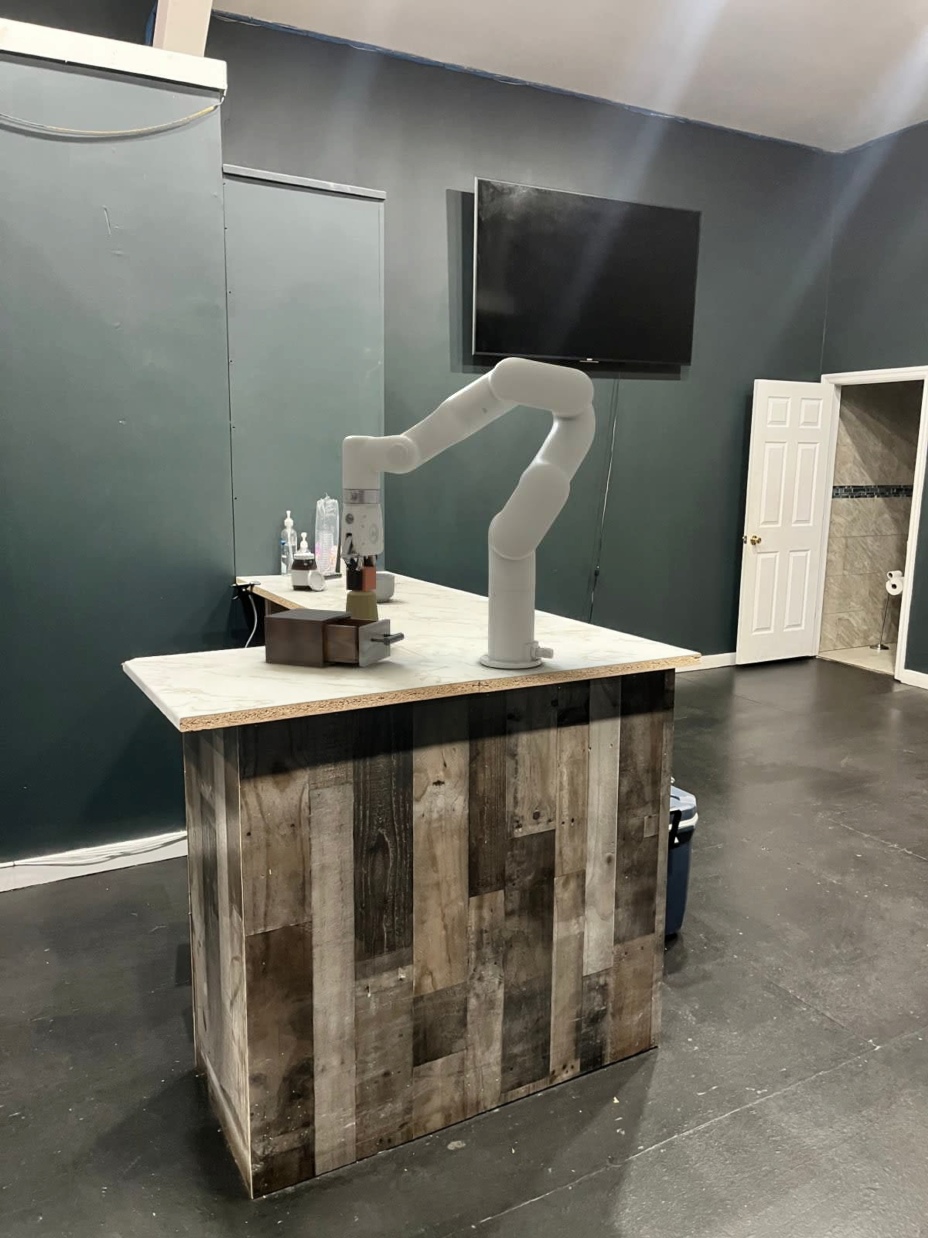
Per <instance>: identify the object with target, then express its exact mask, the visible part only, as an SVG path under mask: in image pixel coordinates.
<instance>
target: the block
mask: <svg viewBox="0 0 928 1238" xmlns="http://www.w3.org/2000/svg"><path fill="white" fill-rule="evenodd" d="M360 571H363V589H362V590H361V591H369V590H374V589H376V573H377V566H376V567H365V566H361V570H360ZM345 585H346V586H345V590H346V591H349V590H348V589H347V570H346V569H345ZM354 591H356V590H354Z"/></svg>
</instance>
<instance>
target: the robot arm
mask: <svg viewBox="0 0 928 1238" xmlns="http://www.w3.org/2000/svg"><path fill="white" fill-rule="evenodd" d="M594 394H595V389H594V384H593V381H592V380H591V378H590V377H589V375H587V374H586V373H585V372H583V371H581V370H580V369H577V368H573V367H567V366H563V365H562V366H561V365H556V364H551V363H546V362H541V361H537V360H536V361H535V360H531V359H526V358H522V357H507V358H504V359H502V360H501V361H499V362H498V363H496V365H495V366H494V368H493V369H491V370H490V371H488V372H487V373H485V374H484V375H482V376H480V377H479V378H477V379H476V380H473V382H471V383H469V384H468V385H466V386H465V387H464V388H461V389H460V390H458V391H456V392H455V393H453V394H452V395H450V396H449V397H448V398H446V399H445V400H444V401H443V402H442V403H440V404H439V406H438V407H437V408H436V409H435V410H434V411H433V412H432V413H431V414H429V415H428V416H427V417H425V418H424V419H423V420H421V421H420V422H418V423H417V424H415V425H414V426H411V428H409V429H407V430H406V431H404V432H402V433H401V434H395V435H386V436H371V435H349V436H346V437H345V438H344V439H343V441H342V449H341V450H342V506H343V509H342V515H341V516H342V517H341V529H340V530H341V531H340V547H341V548H340V549H341V553H340V557H341V559H342V560H343V561H344V564H345V571H346V570H347V589H348V590H347V591H352V590H356V591H361V590H362V589H363V571H360V570H361V562H362V566H365V567H376V568H377V560H378V557H379V555H380V554H382V553H383V552H384V549H385V548H384V546H385V545H384V524H383V523H384V522H383V513H382V508H381V472H384V473H391V474H396V475H401V474H407V473H408V474H409V473H410V472H412V471H413V470H415V469H417V468H419V467H420V466H422V465H423V464H425V463H426V462H428V461H430V460H431V459H433V458H434V457H436V456H437V455H439V454H441V453H442V452H444V451H445V450H447V449H448V448H450V447H452V446H454V445H455V444H457V443H460V442H462V441H464V440H465V439H467V438H468V437H471V436H472V435H474V434H475V433H476V432H478V431H480V430H481V429H483V428H484V427H486V426H487V425H489V424H491V423H492V422H494V421H495V420H496V419H499V418H500V417H502V416H504V415H505V414H506V413H508V412H510V411H512V410H513V409H515V408H516V407H517V406H519V405H520V406H524V407H529V408H533V409H539V410H544V411H549V412H551V414H552V417H553V418H552V419H553V423H552V426H551V430H550V431H549V433H548V435H547V437H546V438H545V440H544V442H543V444H542V445H541V447H540V449H539V450H538V452H537V453H536V455H535V457H533V460H532V461H531V463H530V464H529V465H528V467H527V468H526V469H525V470H524V471H523V473H522V474H521V476H520V478H519V481H518V484H517V486H516V487H515V489H514V491H513V492H512V494H511V495H510V497H509V498H508V500H507V501H506V504H505V505H504V507H503V508H502V510H501V511H500V512H498V513H497V514H496V515H495V516H494V517H493V518H492V520H491V521H490V524H489V526H488V533H487V535H488V536H487V542H488V543H487V545H488V594H487V595H488V598H487V600H488V602H487V603H488V604H487V605H488V607H487V608H488V612H487V614H488V615H487V653H485V654H483V655H481V656H480V658H479V660H480V661H479V662H480V664H482V665H484V666H485V667H486V666H487V667H491V668H497V669H509V670H510V669H529V668H534V667H535V668H536V667H538V666H540V665H541V664H542V658H543V659H551V660H552V659H553V658H554V655H555V654H554V653H555V652H554V651H555V650H554V649H553V648H551V647H541V646H540V645H539V640H535V617H536V615H535V614H536V613H535V611H536V610H535V609H536V549H537V547H538V546H539V545H540V543H541V542H542V540H543V539H544V537H545V536H546V535H547V533H548V532H549V530H550V528H551V526H552V525H553V524H554V522H555V521H556V519H557V517H558V515H560V512H561V511H562V509H563V507H564V506H565V504H566V502H567V500H568V498H569V494H570V491H571V484H570V482H571V481H572V479H573V477H574V476H575V475H576V473H577V471H578V470H579V468H580V466H581V464H582V462H583V461H584V459H585V458H586V456H587V454H588V452H589V450H590V449H591V446H592V443H593V441H594V438H595V433H596V415H595V409H594V406H593V404H592V402H593V399H594V397H595V396H594ZM354 554H358V555H354ZM366 556H367V559H366ZM354 558H357V560H356V561H355V559H354Z"/></svg>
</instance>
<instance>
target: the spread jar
mask: <svg viewBox="0 0 928 1238" xmlns="http://www.w3.org/2000/svg"><path fill="white" fill-rule="evenodd" d="M290 569H291V571H290V573H291V575H290V576H291V586H292V587H291V588H292V589H293V590H295V591H315V592H319V591H322V590H323V589H324V588H325V586H326V580H325V579H326V578H325V576H324V574H323V573H322V572H321V571H320V570H318V565H317V562H316V560H315V553H294V554H293V561H292V564H291V567H290Z"/></svg>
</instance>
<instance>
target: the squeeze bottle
mask: <svg viewBox="0 0 928 1238" xmlns="http://www.w3.org/2000/svg"><path fill="white" fill-rule="evenodd" d="M345 601H346V602H345V611H346V612H353V615H352V616H353V618H358V619H372V620H378V621H380V619H379V609H378V602H377V600H376V593H375V592H374V591H371V590H369V591H354V590H349V591H348V592H347V593H346V600H345Z"/></svg>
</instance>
